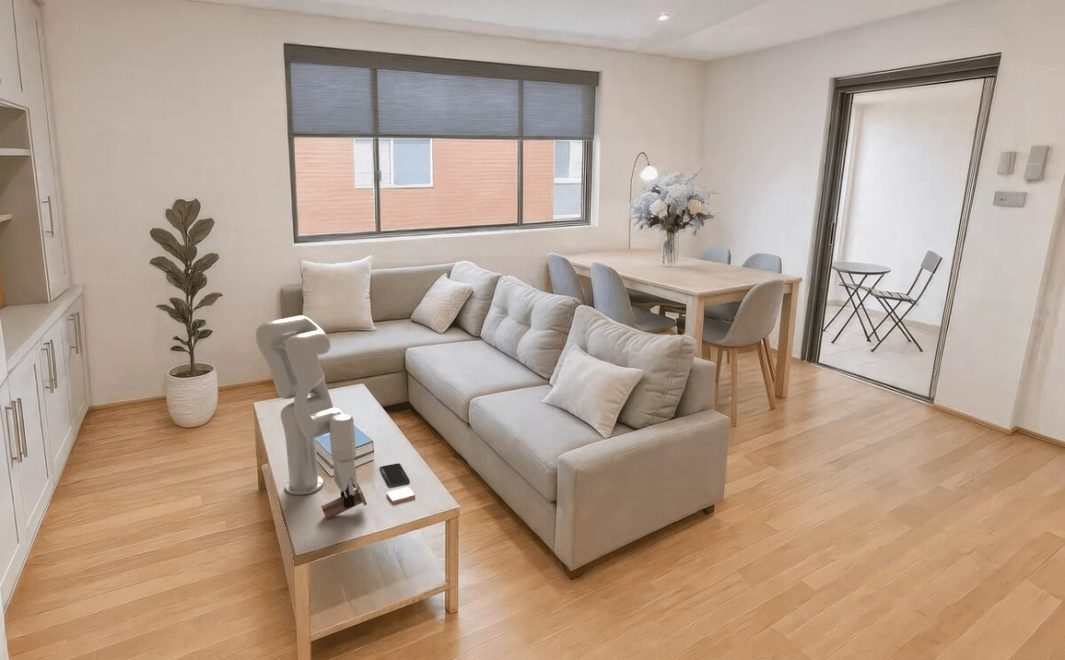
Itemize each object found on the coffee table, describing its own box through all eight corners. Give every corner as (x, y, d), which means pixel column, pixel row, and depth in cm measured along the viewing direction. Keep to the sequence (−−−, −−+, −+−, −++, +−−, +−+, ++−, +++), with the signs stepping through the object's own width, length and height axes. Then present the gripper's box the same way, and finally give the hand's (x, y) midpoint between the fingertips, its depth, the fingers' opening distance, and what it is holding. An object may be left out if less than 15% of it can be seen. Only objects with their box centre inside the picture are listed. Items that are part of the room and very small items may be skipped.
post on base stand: (324, 512, 204) (318, 500, 203) (362, 494, 209) (357, 482, 207) (328, 523, 198) (322, 510, 196) (367, 504, 203) (362, 491, 201)
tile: (386, 492, 215) (408, 486, 219) (386, 496, 215) (408, 491, 220) (392, 500, 210) (415, 494, 214) (392, 505, 210) (415, 499, 215)
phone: (388, 485, 220) (379, 466, 233) (388, 488, 221) (379, 469, 234) (410, 481, 224) (400, 462, 237) (410, 484, 224) (400, 465, 237)
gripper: (325, 446, 204) (329, 497, 208) (338, 465, 191) (343, 519, 195) (348, 440, 208) (352, 491, 212) (363, 459, 194) (367, 512, 199)
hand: (348, 504), depth 204 cm, fingers closed on post on base stand, 2 cm apart
